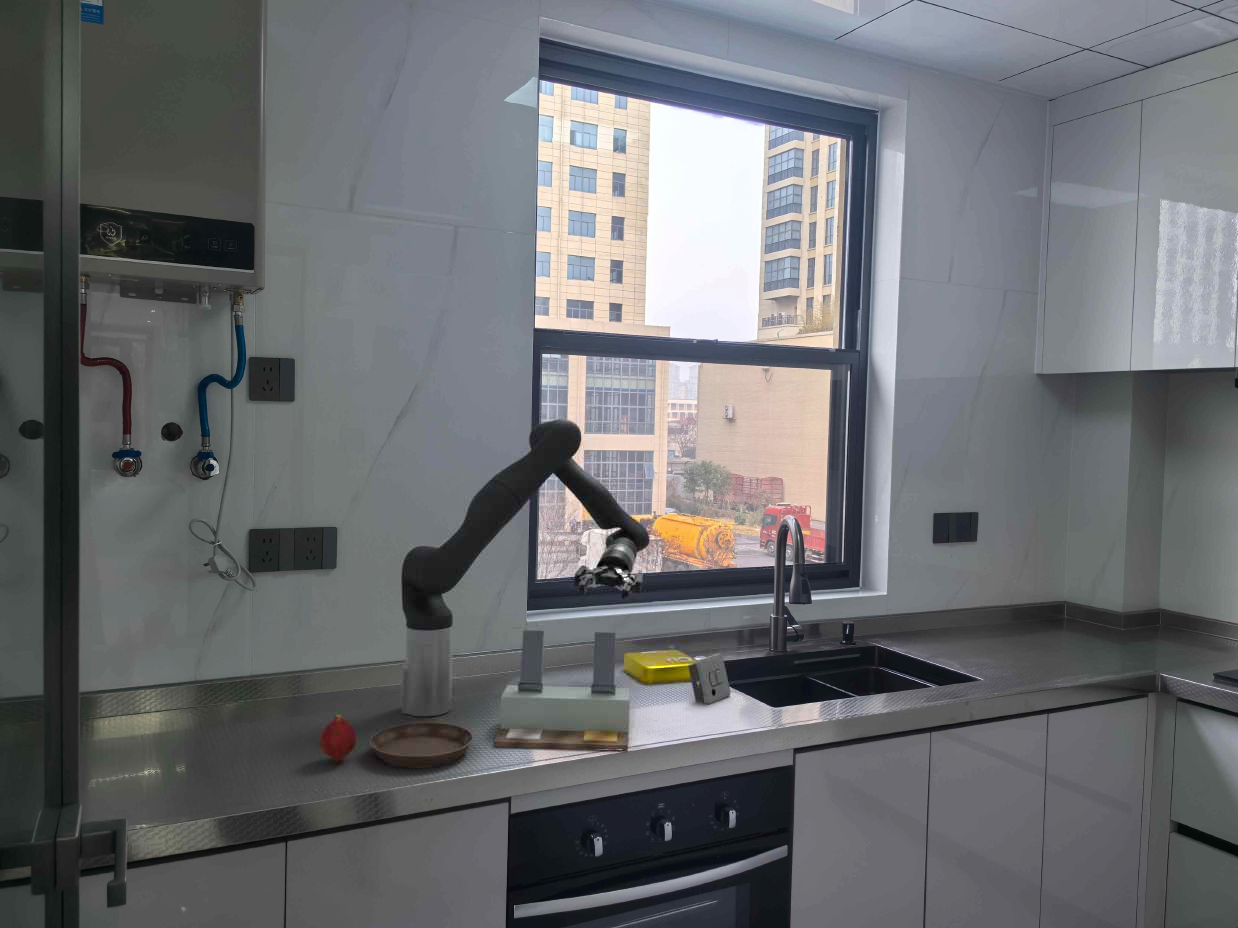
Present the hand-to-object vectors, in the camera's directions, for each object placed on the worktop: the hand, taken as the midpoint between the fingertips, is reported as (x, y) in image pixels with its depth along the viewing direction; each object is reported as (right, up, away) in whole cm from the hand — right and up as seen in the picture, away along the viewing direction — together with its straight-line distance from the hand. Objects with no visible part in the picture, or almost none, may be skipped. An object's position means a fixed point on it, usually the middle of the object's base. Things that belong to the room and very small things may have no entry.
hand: (603, 592), depth 175 cm
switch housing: (-7, -24, -12) cm, 27 cm away
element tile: (+14, -25, +30) cm, 41 cm away
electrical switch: (+23, -25, +10) cm, 35 cm away
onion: (-44, -24, -31) cm, 59 cm away
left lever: (-14, -16, -12) cm, 24 cm away
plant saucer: (-31, -25, -26) cm, 48 cm away
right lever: (0, -17, -12) cm, 21 cm away
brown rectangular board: (-7, -25, -14) cm, 29 cm away
